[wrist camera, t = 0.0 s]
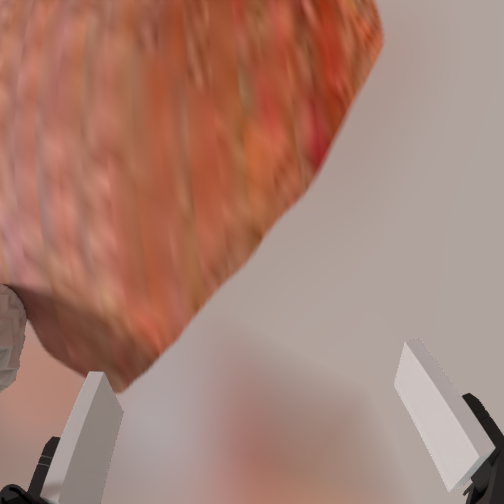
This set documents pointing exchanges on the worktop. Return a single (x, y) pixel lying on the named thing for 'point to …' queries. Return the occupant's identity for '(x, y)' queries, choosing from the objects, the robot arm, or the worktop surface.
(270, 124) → the worktop surface
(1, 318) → the vase
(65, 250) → the worktop surface
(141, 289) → the worktop surface
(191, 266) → the worktop surface
